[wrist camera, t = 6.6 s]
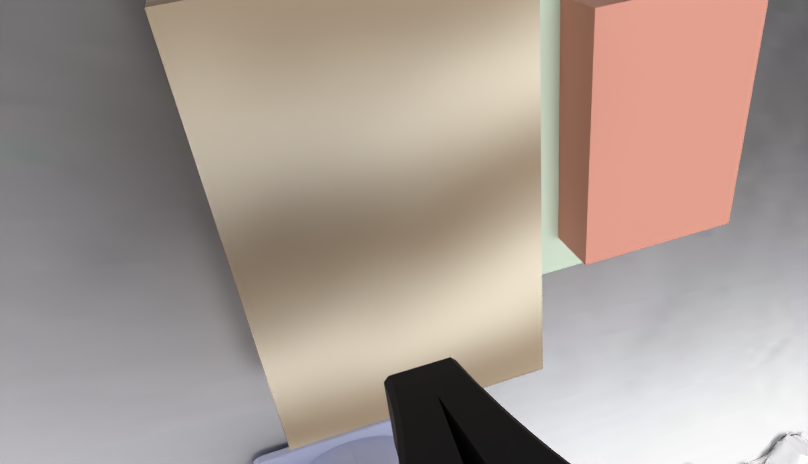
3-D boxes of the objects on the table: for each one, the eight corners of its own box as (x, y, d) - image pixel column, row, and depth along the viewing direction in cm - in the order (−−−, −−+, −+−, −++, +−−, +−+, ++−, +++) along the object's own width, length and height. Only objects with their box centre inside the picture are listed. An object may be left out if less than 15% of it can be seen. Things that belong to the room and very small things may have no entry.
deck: (496, 303, 26) (542, 368, 22) (275, 368, 24) (289, 449, 21) (474, -79, 18) (539, -66, 15) (151, -23, 17) (144, 7, 13)
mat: (682, 228, 27) (687, 232, 26) (517, 276, 25) (521, 280, 25) (724, -89, 20) (731, -89, 20) (507, -48, 19) (511, -47, 19)
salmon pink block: (585, 265, 23) (558, 237, 25) (728, 223, 24) (693, 199, 26) (595, 8, 18) (560, -5, 20) (773, -30, 19) (726, -39, 21)
